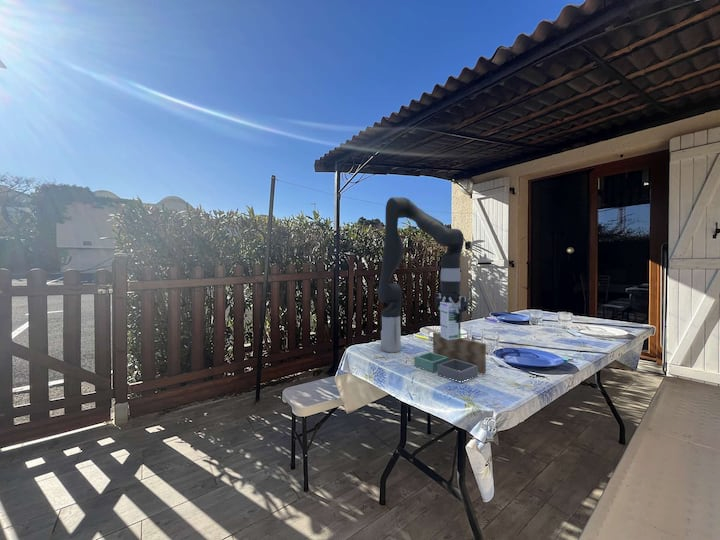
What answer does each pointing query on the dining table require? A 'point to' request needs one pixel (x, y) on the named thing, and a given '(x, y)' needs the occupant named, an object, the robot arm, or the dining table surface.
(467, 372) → the box
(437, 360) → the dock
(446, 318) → the syrup box
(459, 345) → the back panel
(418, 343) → the dining table surface
